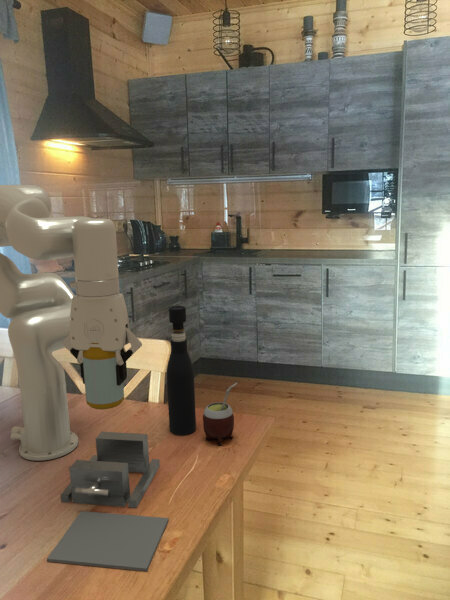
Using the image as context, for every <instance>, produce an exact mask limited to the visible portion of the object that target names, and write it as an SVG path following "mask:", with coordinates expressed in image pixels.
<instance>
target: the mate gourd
mask: <svg viewBox="0 0 450 600" xmlns="http://www.w3.org/2000/svg"><path fill="white" fill-rule="evenodd" d="M238 384H239V382H238V381H237V382H235V383H234V384H232V385H230V386H229V387H228V388H227V389H226V391H225V395H224V398H223V402H220V401H219V402H211V403H209V404H208V405H207V406H206V407H205V408H204V411H203V414H202V424H203V431H204V434H205V437H204V438H205V442H211V441H214V442H215V441H217V446H218V447H221V446H222V441H227V440H228V441H229V440H233V438H234V437H233V432H234V427H235V416H234V412H233V409H232V407H231V406H230V405H229V404H227V403H226V402H227V399H228V396H229V395H230V393H231V390H232V388H235V386H237V385H238Z"/></svg>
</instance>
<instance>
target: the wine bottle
mask: <svg viewBox="0 0 450 600" xmlns="http://www.w3.org/2000/svg"><path fill="white" fill-rule="evenodd" d="M168 317H169V318H168V319H169V321H168V322H169V323H171V324H172V332H171V335H170V336H171V339H170V350H171V351H170V354H169V358H168V362H167V367H166V388H167V405H168V406H167V407H168V424H169V425H168V426H169V427H168V428H169V433H170V434H172V435H175V436H182V437H183V436H188V435H191V434H193V433H194V432H196V430H197V418H196V416H197V415H196V394H195V393H196V391H195V373H194V366H193V362H192V359H191V357H190V354H189V351H188V340H187V339H186V332H185V327H184V326H185V325H184V323H186V322H187V307H186V306H183V305H173V306H170V307H169V308H168Z"/></svg>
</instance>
